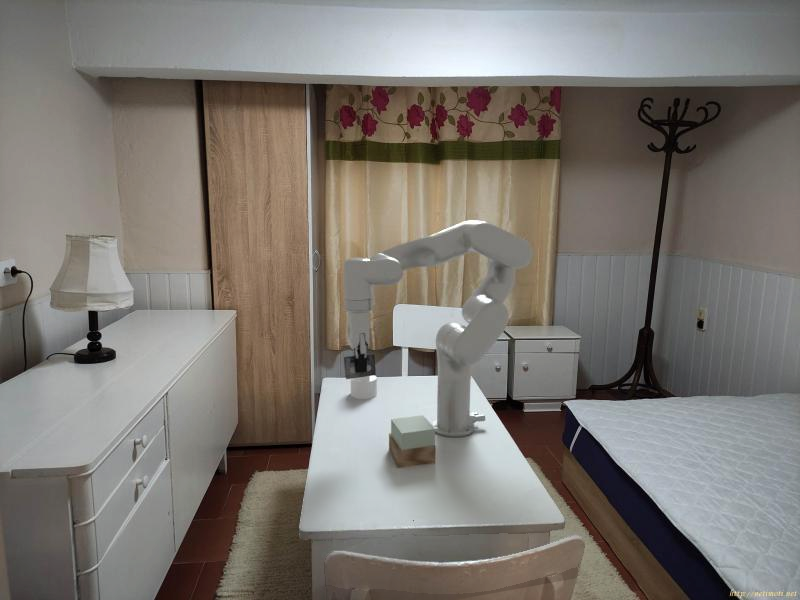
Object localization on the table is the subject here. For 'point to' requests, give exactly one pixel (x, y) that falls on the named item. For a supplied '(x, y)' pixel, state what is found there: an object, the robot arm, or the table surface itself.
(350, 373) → the mini dv tape
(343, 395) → the table surface
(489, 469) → the table surface
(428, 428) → the tower top block
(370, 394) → the base with upright slab
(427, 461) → the tower base block
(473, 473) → the table surface
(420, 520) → the table surface
